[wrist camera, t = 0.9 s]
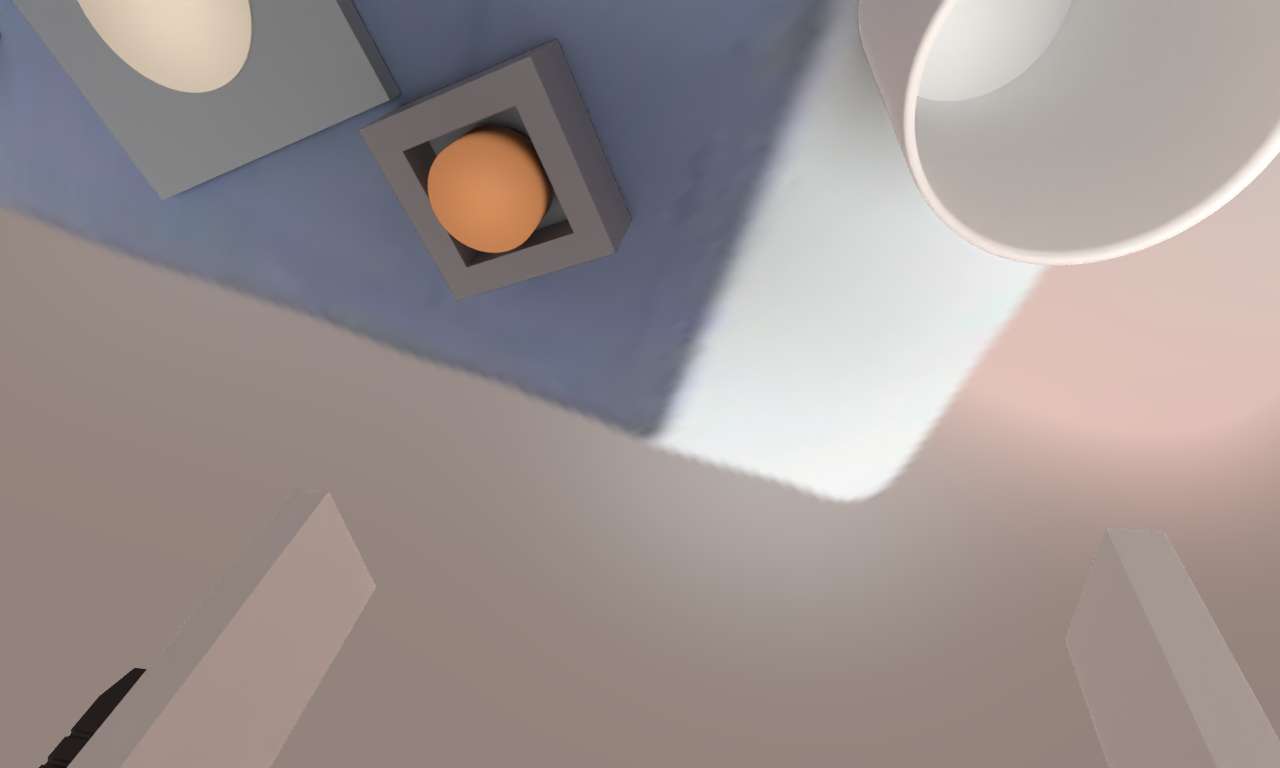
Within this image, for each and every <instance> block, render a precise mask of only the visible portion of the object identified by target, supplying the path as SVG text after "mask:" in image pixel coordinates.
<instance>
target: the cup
mask: <svg viewBox="0 0 1280 768" xmlns="http://www.w3.org/2000/svg"><path fill="white" fill-rule="evenodd" d="M858 23H859V32H860V37H861V42H862V45H863V48H864V51H865V54H866V56H867V59H868V62H869V64H870V67H871V70H872V72H873V75H874V77H875V80H876V83H877V85H878V88H879V91H880V93H881V96H882V98H883V101H884V104H885V106H886V109H887V111H888V114H889V117H890V119H891V122H892V125H893V127H894V130H895V132H896V135H897V138H898V140H899V143H900V145H901V148H902V151H903V153H904V156H905V158H906V161H907V163H908V166H909V168H910V171H911V174H912V176H913V178H914V180H915V182H916V185H917V187H918V189H919V190H920V192H921V194H922V195H923V197H924V199H925V200H926V202H927V203H928V204H929V206H930V207H931V208H932V209H933V211H934V212H935V213H936V214H937V216H938V217H939V218H940V219H941V220H942V221H943V222H944V223H945V224H946V225H947V226H948V227H949V228H950V229H952V230H953V231H954V232H955V233H956V234H958V235H959V236H960V237H962V238H963V239H965V240H966V241H968V242H969V243H971V244H973V245H975V246H977V247H979V248H981V249H983V250H985V251H987V252H989V253H992V254H995V255H997V256H1000V257H1003V258H1007V259H1011V260H1014V261H1019V262H1025V263H1031V264H1042V265H1073V264H1085V263H1091V262H1097V261H1103V260H1107V259H1112V258H1116V257H1120V256H1124V255H1127V254H1130V253H1133V252H1136V251H1140V250H1142V249H1145V248H1147V247H1150V246H1152V245H1155V244H1157V243H1160V242H1162V241H1164V240H1166V239H1168V238H1170V237H1173V236H1175V235H1177V234H1179V233H1180V232H1182V231H1184V230H1186V229H1188V228H1190V227H1191V226H1193V225H1195V224H1196V223H1198V222H1200V221H1201V220H1203V219H1204V218H1206V217H1207V216H1209V215H1210V214H1212V213H1213V212H1215V211H1216V210H1218V209H1219V208H1220V207H1222V206H1223V205H1224V204H1226V203H1227V202H1228V201H1230V200H1231V199H1232V198H1233V197H1235V196H1236V195H1237V194H1238V193H1239V192H1240V191H1242V190H1243V189H1244V188H1245V187H1246V186H1247V185H1248V184H1249V183H1251V182H1252V180H1254V179H1255V178H1256V177H1257V176H1258V175H1259V174H1260V173H1261V172H1262V171H1263V170H1264V169H1265V168H1266V166H1267V165H1268V164H1269V163H1270V162H1271V161H1272V160H1273V158H1274V157H1275V156H1276V155H1277V154H1278V153H1279V151H1280V0H859V8H858Z"/></svg>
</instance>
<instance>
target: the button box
mask: <svg viewBox="0 0 1280 768" xmlns="http://www.w3.org/2000/svg"><path fill="white" fill-rule="evenodd" d="M487 125H495V126H502V127H506V128H509V129H512V130H514V131H516V132H518V133H520V134H522V135H523V136H525V137H526V138H527V139H529V140H530V141H531V142H532V143H533V145H534V147H535V149H536V151H537V154H538V156H539V158H540V160H541V162H542V165H543V167H544V169H545V171H546V173H547V175H548V178H549V180H550V182H551V184H552V186H553V198H552V202H551V206H550V208H549V210H548V212H547V214H546V215H545V217H544V218H543V219H542V221H541V222H540V223H539V225H538V226H537V227H536V229H535V230H534V231H533V233H532V234H531V235H530V236H529V238H528V239H527V240H526V241H525V242H524V243H522V244H521V245H520V246H518V247H516V248H514V249H512V250H509V251H505V252H498V253H490V252H483V251H479V250H476V249H473V248H471V247H468V246H466V245H465V244H463V243H461V242H460V241H458V240H457V239H455V238H454V237H453V236H452V235H451V234H450V233H449V232H448V231H447V230H446V229H445V228H444V227H443V226H442V224H441V223H440V222H439V220H438V218H437V217H436V215H435V213H434V211H433V209H432V206H431V203H430V199H429V195H428V176H429V172H430V169H431V166H432V164H433V162H434V160H435V159H436V157H437V156H438V155H439V154H440V153H441V152H442V151H443V150H444V149H445V148H447V147H448V146H449V145H451V144H452V143H453V142H455V141H456V140H457V139H459V138H460V137H461V136H463V135H464V134H465V133H467V132H468V131H470V130H472V129H474V128H477V127H480V126H487ZM358 131H359V132H360V134H361V136H362V138H363V139H364V141H365V143H366V145H367V146H368V148H369V150H370V151H371V153H372V155H373V157H374V158H375V160H376V162H377V164H378V165H379V167H380V169H381V171H382V172H383V174H384V176H385V177H386V179H387V181H388V183H389V184H390V186H391V188H392V190H393V191H394V193H395V195H396V197H397V198H398V200H399V202H400V204H401V205H402V207H403V209H404V210H405V212H406V214H407V216H408V217H409V219H410V221H411V223H412V224H413V226H414V228H415V230H416V231H417V233H418V235H419V236H420V238H421V240H422V242H423V243H424V245H425V247H426V249H427V250H428V252H429V254H430V256H431V257H432V259H433V261H434V262H435V264H436V266H437V268H438V269H439V271H440V273H441V275H442V276H443V278H444V280H445V282H446V283H447V285H448V287H449V288H450V290H451V292H452V294H453V295H454V297H455V299H456V301H458V300H462V299H465V298H468V297H472V296H475V295H478V294H482V293H485V292H488V291H491V290H495V289H498V288H501V287H505V286H508V285H511V284H515V283H518V282H521V281H524V280H528V279H531V278H534V277H538V276H541V275H544V274H548V273H551V272H554V271H557V270H561V269H564V268H567V267H571V266H574V265H577V264H581V263H584V262H587V261H590V260H594V259H597V258H600V257H604V256H607V255H610V254H614V253H616V251H617V249H618V247H619V245H620V243H621V241H622V239H623V237H624V235H625V233H626V231H627V229H628V227H629V225H630V223H631V221H632V219H631V217H630V214H629V212H628V210H627V207H626V205H625V202H624V200H623V197H622V195H621V193H620V190H619V188H618V185H617V183H616V180H615V178H614V176H613V173H612V171H611V168H610V166H609V163H608V161H607V158H606V156H605V154H604V151H603V149H602V146H601V144H600V141H599V139H598V137H597V134H596V132H595V129H594V127H593V124H592V122H591V120H590V117H589V115H588V112H587V110H586V107H585V105H584V102H583V100H582V98H581V95H580V93H579V90H578V88H577V85H576V83H575V81H574V78H573V76H572V73H571V71H570V68H569V66H568V64H567V61H566V59H565V56H564V54H563V51H562V49H561V47H560V44H559V42H558V39H555V40H553V41H551V42H548V43H546V44H544V45H541V46H539V47H537V48H534V49H532V50H530V51H528V52H525V53H523V54H521V55H518V56H516V57H514V58H511V59H509V60H507V61H505V62H502V63H500V64H498V65H495V66H493V67H491V68H488V69H486V70H484V71H482V72H479V73H477V74H475V75H472V76H470V77H468V78H465V79H463V80H461V81H459V82H456V83H454V84H452V85H449V86H447V87H445V88H442V89H440V90H438V91H435V92H433V93H431V94H429V95H426V96H424V97H422V98H419V99H417V100H415V101H412V102H410V103H408V104H406V105H403V106H401V107H399V108H397V109H395V110H393V111H392V112H390V113H388V114H386V115H385V116H383V117H381V118H379V119H378V120H376V121H374V122H372V123H370V124H369V125H367V126H365V127H363V128H362V129H360V130H358Z"/></svg>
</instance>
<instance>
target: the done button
mask: <svg viewBox="0 0 1280 768" xmlns="http://www.w3.org/2000/svg"><path fill="white" fill-rule="evenodd" d="M428 195H429V199H430V203H431V206H432V209H433V211H434V213H435V215H436V217H437V218H438V220H439V222H440V223H441V224H442V226H443V227H444V228H445V229H446V230H447V231H448V232H449V233H450V234H451V235H452V236H453V237H454V238H455V239H457V240H458V241H460V242H461V243H463V244H465V245H466V246H468V247H471V248H473V249H476V250H479V251H483V252H490V253H498V252H505V251H509V250H512V249H514V248H516V247H518V246H520V245H521V244H522V243H524V242H525V241H526V240H527V239H528V238H529V236H530V235H531V234H532V233H533V231H534V230H535V229H536V227H537V226H538V225H539V223H540V222H541V221H542V219H543V218H544V217H545V215H546V214H547V212H548V210H549V208H550V206H551V202H552V198H553V186H552V184H551V182H550V180H549V178H548V175H547V173H546V171H545V169H544V167H543V165H542V162H541V160H540V158H539V156H538V154H537V151H536V149H535V147H534V145H533V143H532V142H531V141H530V140H529V139H527V138H526V137H525V136H523V135H522V134H520V133H518V132H516V131H514V130H512V129H509V128H506V127H502V126H495V125H487V126H480V127H477V128H474V129H472V130H470V131H468V132H467V133H465V134H464V135H463V136H461V137H460V138H459V139H457V140H456V141H455V142H453V143H452V144H451V145H449V146H448V147H447V148H445V149H444V150H443V151H442V152H441V153H440V154H439V155H438V156H437V157H436V159H435V160H434V162H433V164H432V166H431V169H430V172H429V176H428Z"/></svg>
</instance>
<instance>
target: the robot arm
mask: <svg viewBox="0 0 1280 768" xmlns="http://www.w3.org/2000/svg"><path fill="white" fill-rule="evenodd" d="M375 588H376V586H375V584H374V582H373V580H372V578H371V576H370V574H369V572H368V570H367V568H366V566H365V564H364V562H363V560H362V558H361V556H360V554H359V552H358V550H357V548H356V546H355V544H354V542H353V540H352V538H351V536H350V534H349V532H348V530H347V528H346V526H345V524H344V522H343V520H342V518H341V516H340V514H339V512H338V510H337V508H336V506H335V504H334V501H333V500H332V498H331V495H330V493H329V492H328V491H309V490H292V492H291V493H290V494H289V495H288V497H287V498H286V499H285V500H284V501H283V503H282V504H281V505H280V506H279V508H278V509H277V510H276V511H275V513H274V514H273V515H272V516H271V518H270V519H269V520H268V521H267V522H266V524H265V525H264V526H263V527H262V529H261V530H260V531H259V532H258V533H257V535H256V536H255V537H254V538H253V540H252V541H251V542H250V543H249V544H248V546H247V547H246V548H245V550H244V551H243V552H242V553H241V554H240V556H239V557H238V558H237V559H236V560H235V562H234V563H233V564H232V565H231V567H230V568H229V569H228V570H227V572H226V573H225V574H224V575H223V576H222V578H221V579H220V580H219V581H218V583H217V584H216V585H215V586H214V588H213V589H212V590H211V591H210V592H209V594H208V595H207V596H206V597H205V598H204V600H203V601H202V602H201V604H200V605H199V606H198V607H197V608H196V610H195V611H194V612H193V613H192V615H191V616H190V617H189V618H188V619H187V621H186V622H185V623H184V624H183V626H182V627H181V628H180V629H179V631H178V632H177V633H176V634H175V636H174V637H173V638H172V639H171V640H170V641H169V643H168V644H167V645H166V646H165V648H164V649H163V650H162V651H161V653H160V654H159V655H158V656H157V657H156V659H155V660H154V661H153V663H152V664H151V665H150V666H149V667H148V669H139V668H134V669H133V670H132V671H130V672H129V673H128V674H127V675H125V676H124V677H123V678H122V679H120V680H119V681H118V682H117V683H115V684H114V685H113V686H112V687H111V688H109V689H108V690H107V691H105V692H104V693H103V694H102V695H100V696H99V697H98V699H97V700H96V701H95V702H94V703H93V704H92V706H91V707H90V708H89V709H88V711H87V712H86V713H85V714H84V715H83V716H82V717H81V719H80V720H79V721H78V722H77V723H76V725H75V726H74V727H73V728H72V729H71V731H72V732H71V734H70V736H68V737H65V738H64V739H63V740H62V741H61V742H60V744H59V745H58V746H57V747H56V748H55V750H54V751H53V752H52V753H51V754H50V755H49V757H48V762H47V763H46V764H45V765H41V766H40V767H39V768H270V767H271V765H272V763H273V762H274V760H275V758H276V756H277V755H278V753H279V751H280V750H281V748H282V746H283V745H284V743H285V741H286V739H287V738H288V736H289V734H290V733H291V731H292V729H293V728H294V726H295V724H296V722H297V721H298V719H299V717H300V716H301V714H302V712H303V711H304V709H305V707H306V705H307V704H308V702H309V700H310V699H311V697H312V695H313V693H314V692H315V690H316V688H317V687H318V685H319V683H320V681H321V680H322V678H323V676H324V675H325V673H326V671H327V669H328V668H329V666H330V665H331V663H332V661H333V660H334V658H335V656H336V654H337V653H338V651H339V649H340V647H341V646H342V644H343V643H344V641H345V639H346V637H347V636H348V634H349V632H350V631H351V629H352V627H353V625H354V624H355V622H356V620H357V619H358V616H359V615H360V614H361V612H362V610H363V608H364V607H365V605H366V603H367V602H368V600H369V598H370V597H371V595H372V593H373V592H374V590H375ZM1065 644H1066V646H1067V649H1068V652H1069V655H1070V658H1071V661H1072V664H1073V667H1074V670H1075V672H1076V676H1077V679H1078V681H1079V684H1080V687H1081V690H1082V693H1083V696H1084V699H1085V702H1086V705H1087V708H1088V711H1089V713H1090V716H1091V719H1092V722H1093V725H1094V728H1095V731H1096V734H1097V736H1098V740H1099V743H1100V745H1101V748H1102V751H1103V754H1104V757H1105V760H1106V763H1107V766H1108V768H1280V741H1279V739H1278V737H1277V735H1276V734H1275V732H1274V730H1273V728H1272V726H1271V724H1270V722H1269V721H1268V719H1267V717H1266V715H1265V713H1264V711H1263V710H1262V708H1261V706H1260V704H1259V703H1258V701H1257V699H1256V697H1255V695H1254V693H1253V692H1252V690H1251V688H1250V686H1249V684H1248V682H1247V681H1246V679H1245V677H1244V675H1243V674H1242V672H1241V670H1240V668H1239V666H1238V664H1237V662H1236V661H1235V659H1234V657H1233V655H1232V654H1231V652H1230V650H1229V648H1228V646H1227V644H1226V642H1225V641H1224V639H1223V637H1222V635H1221V633H1220V632H1219V630H1218V628H1217V626H1216V624H1215V623H1214V621H1213V619H1212V617H1211V615H1210V613H1209V612H1208V610H1207V608H1206V606H1205V604H1204V603H1203V601H1202V599H1201V597H1200V595H1199V593H1198V592H1197V590H1196V588H1195V586H1194V584H1193V583H1192V581H1191V579H1190V577H1189V575H1188V574H1187V572H1186V570H1185V568H1184V566H1183V565H1182V563H1181V561H1180V559H1179V557H1178V555H1177V554H1176V552H1175V550H1174V548H1173V546H1172V544H1171V543H1170V541H1169V539H1168V537H1167V536H1166V534H1165V532H1164V531H1161V530H1140V529H1119V528H1118V529H1116V528H1106V529H1105V532H1104V534H1103V537H1102V540H1101V542H1100V545H1099V548H1098V551H1097V554H1096V556H1095V559H1094V562H1093V564H1092V567H1091V570H1090V573H1089V575H1088V578H1087V581H1086V583H1085V586H1084V589H1083V592H1082V594H1081V597H1080V600H1079V603H1078V606H1077V608H1076V611H1075V613H1074V616H1073V619H1072V622H1071V624H1070V627H1069V630H1068V633H1067V635H1066V638H1065Z"/></svg>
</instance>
